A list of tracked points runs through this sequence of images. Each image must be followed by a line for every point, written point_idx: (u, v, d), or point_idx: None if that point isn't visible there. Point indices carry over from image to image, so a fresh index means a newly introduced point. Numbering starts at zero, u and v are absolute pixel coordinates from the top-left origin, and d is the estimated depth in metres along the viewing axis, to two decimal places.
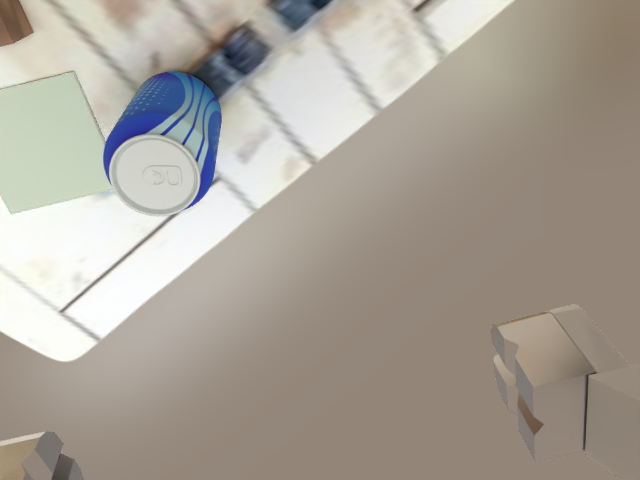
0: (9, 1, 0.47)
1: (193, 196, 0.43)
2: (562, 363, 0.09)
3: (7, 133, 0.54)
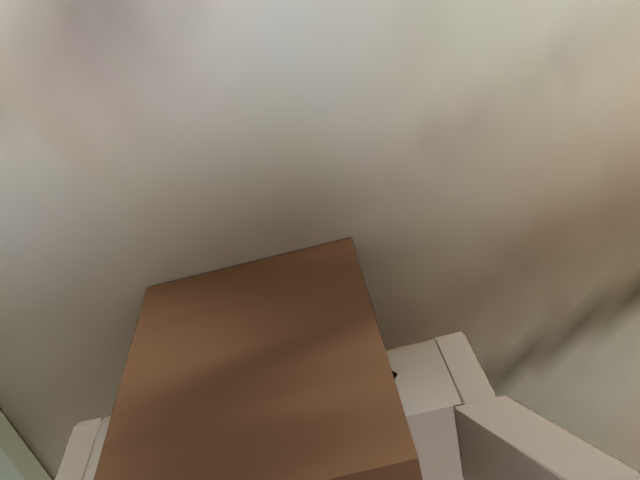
0: None
1: None
2: (433, 394, 0.09)
3: None
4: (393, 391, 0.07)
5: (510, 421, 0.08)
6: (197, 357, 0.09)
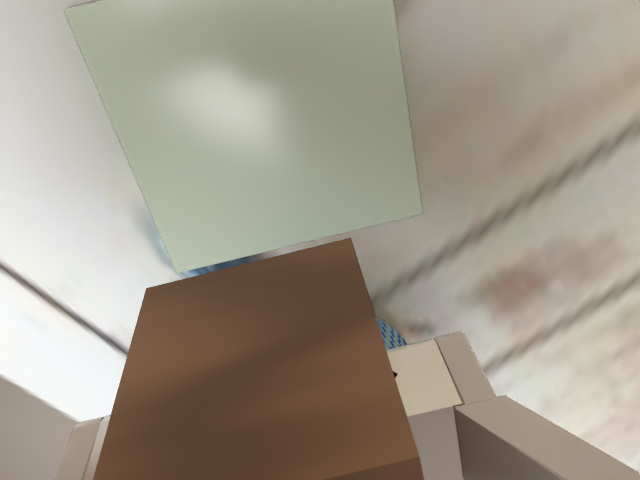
0: None
1: None
2: (433, 393, 0.09)
3: (300, 59, 0.22)
4: (394, 390, 0.07)
5: (509, 421, 0.08)
6: (197, 357, 0.09)
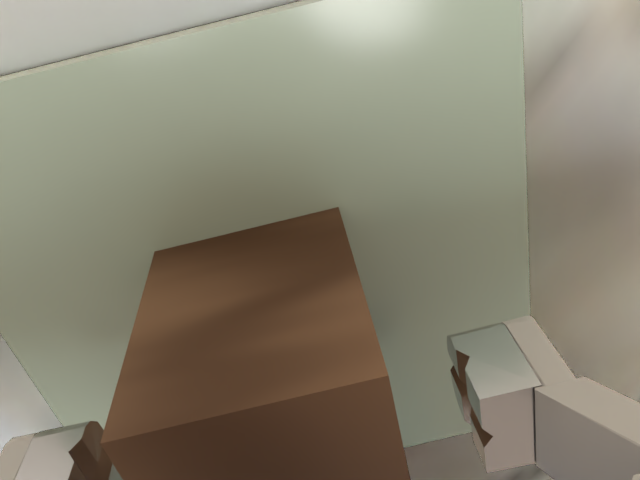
0: None
1: None
2: (510, 375, 0.09)
3: (340, 194, 0.12)
4: (370, 326, 0.08)
5: (594, 402, 0.08)
6: (201, 305, 0.10)
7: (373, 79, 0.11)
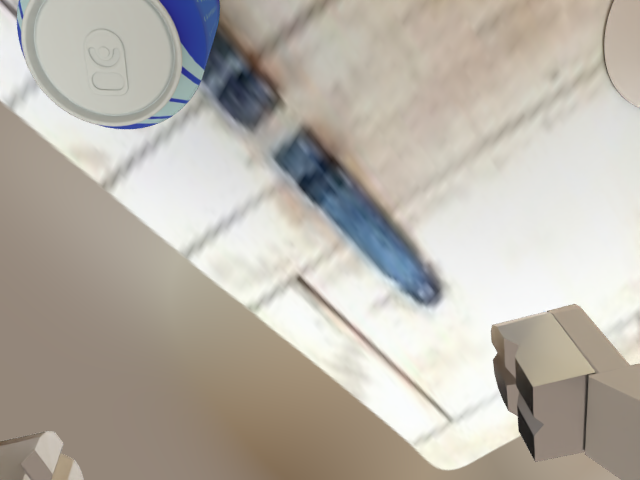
0: None
1: (76, 114, 0.25)
2: (562, 363, 0.09)
3: None
4: None
5: None
6: None
7: None
